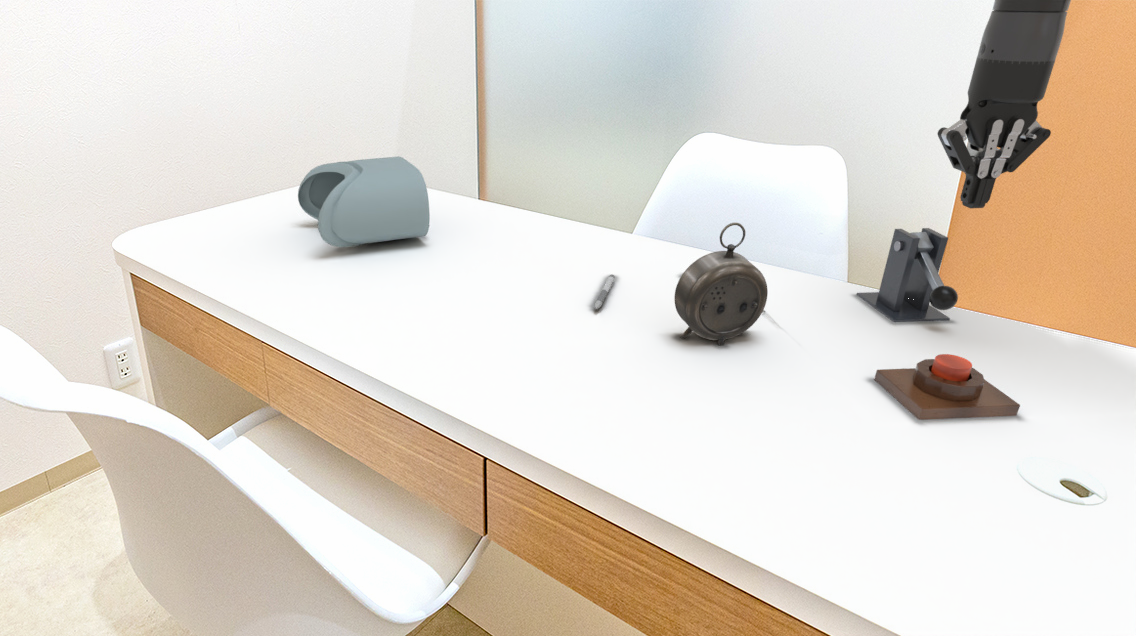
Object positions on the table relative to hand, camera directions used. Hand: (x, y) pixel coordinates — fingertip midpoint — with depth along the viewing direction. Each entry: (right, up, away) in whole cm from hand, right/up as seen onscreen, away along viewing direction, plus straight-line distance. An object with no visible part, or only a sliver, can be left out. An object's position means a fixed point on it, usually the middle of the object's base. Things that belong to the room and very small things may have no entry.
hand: (972, 206), depth 92 cm
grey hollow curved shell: (-83, +4, +45) cm, 95 cm away
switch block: (-9, -24, -8) cm, 27 cm away
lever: (-1, -8, +9) cm, 12 cm away
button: (-9, -21, -10) cm, 24 cm away
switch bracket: (-1, -12, +15) cm, 19 cm away
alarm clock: (-30, -17, +6) cm, 35 cm away
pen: (-43, -10, +20) cm, 48 cm away
